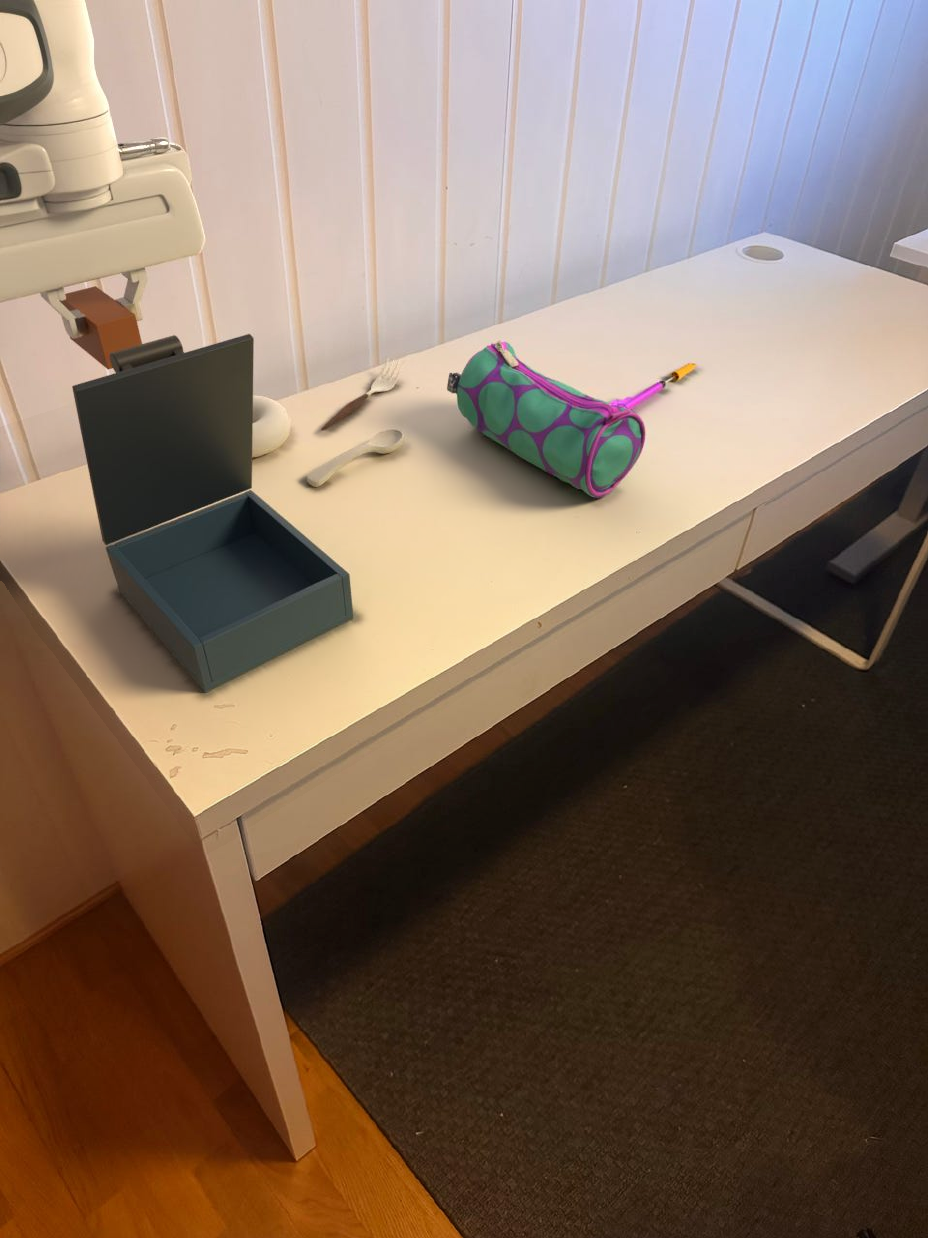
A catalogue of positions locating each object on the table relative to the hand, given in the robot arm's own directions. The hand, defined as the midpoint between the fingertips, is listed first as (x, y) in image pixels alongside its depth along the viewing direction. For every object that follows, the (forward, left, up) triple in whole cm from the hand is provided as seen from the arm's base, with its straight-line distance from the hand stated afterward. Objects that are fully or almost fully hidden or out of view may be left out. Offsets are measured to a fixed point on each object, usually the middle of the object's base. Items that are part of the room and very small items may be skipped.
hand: (105, 327), depth 78 cm
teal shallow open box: (+8, -21, -16) cm, 27 cm away
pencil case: (+40, -4, -16) cm, 43 cm away
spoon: (+21, -1, -16) cm, 26 cm away
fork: (+23, +12, -16) cm, 30 cm away
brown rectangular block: (-1, +1, -2) cm, 3 cm away
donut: (+10, +6, -16) cm, 20 cm away
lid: (+6, -16, -3) cm, 18 cm away
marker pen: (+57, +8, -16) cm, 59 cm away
